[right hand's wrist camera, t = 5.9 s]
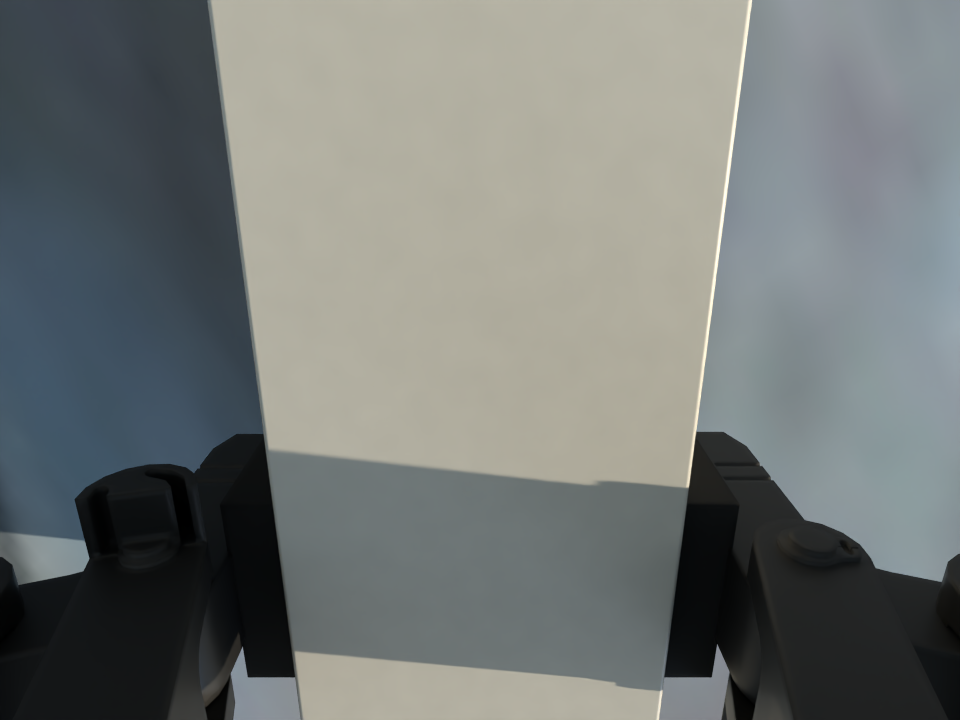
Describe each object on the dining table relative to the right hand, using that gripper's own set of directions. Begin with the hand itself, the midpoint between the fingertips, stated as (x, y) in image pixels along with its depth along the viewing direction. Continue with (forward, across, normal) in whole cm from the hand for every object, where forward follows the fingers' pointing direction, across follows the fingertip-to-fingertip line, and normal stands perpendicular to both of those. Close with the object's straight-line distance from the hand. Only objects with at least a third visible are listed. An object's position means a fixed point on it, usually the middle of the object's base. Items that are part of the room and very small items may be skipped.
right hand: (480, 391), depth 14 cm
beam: (+1, 0, -26) cm, 26 cm away
